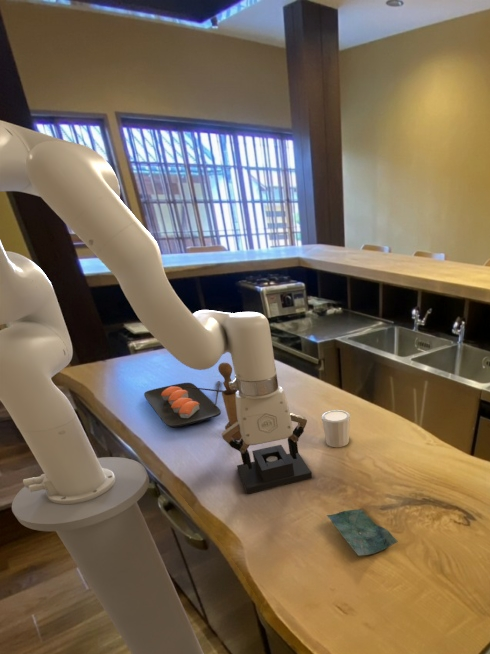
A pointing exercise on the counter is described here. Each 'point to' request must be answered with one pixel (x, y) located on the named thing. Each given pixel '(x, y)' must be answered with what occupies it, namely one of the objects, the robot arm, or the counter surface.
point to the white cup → (336, 427)
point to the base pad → (256, 483)
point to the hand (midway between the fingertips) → (271, 461)
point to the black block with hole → (273, 463)
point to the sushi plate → (182, 404)
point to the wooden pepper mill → (229, 397)
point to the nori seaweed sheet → (362, 532)
